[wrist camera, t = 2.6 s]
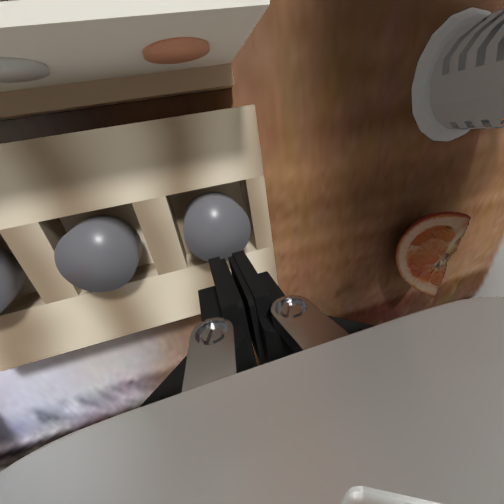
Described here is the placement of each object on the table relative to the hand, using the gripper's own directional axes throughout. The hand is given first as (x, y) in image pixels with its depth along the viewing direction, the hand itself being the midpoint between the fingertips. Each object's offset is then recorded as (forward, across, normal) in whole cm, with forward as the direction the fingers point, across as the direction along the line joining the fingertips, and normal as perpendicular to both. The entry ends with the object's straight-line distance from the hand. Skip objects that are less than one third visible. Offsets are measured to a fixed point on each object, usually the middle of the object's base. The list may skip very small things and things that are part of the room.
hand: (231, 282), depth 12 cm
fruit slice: (+11, -21, +7) cm, 25 cm away
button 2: (+8, 0, -1) cm, 8 cm away
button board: (+11, +7, -1) cm, 13 cm away
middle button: (+8, +7, -1) cm, 11 cm away
